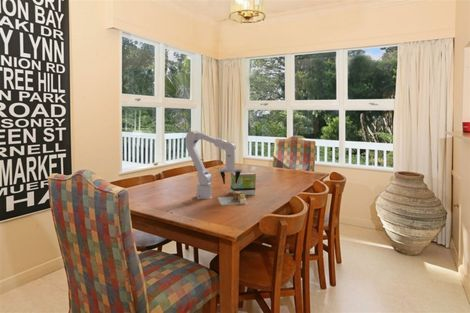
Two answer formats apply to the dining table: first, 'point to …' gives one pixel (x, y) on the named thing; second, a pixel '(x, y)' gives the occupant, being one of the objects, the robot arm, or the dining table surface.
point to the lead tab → (241, 196)
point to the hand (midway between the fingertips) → (230, 183)
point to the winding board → (232, 199)
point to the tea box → (244, 183)
